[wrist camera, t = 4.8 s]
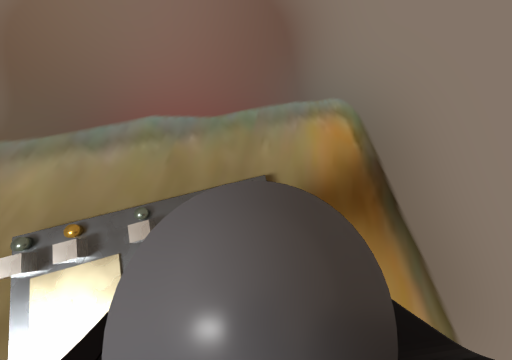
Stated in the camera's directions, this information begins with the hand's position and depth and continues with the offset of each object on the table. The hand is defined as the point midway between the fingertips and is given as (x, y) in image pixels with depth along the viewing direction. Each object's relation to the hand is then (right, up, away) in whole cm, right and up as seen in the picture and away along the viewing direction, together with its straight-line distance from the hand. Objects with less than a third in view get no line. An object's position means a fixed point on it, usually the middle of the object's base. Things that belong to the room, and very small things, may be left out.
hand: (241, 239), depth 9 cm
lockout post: (0, -3, +5) cm, 5 cm away
